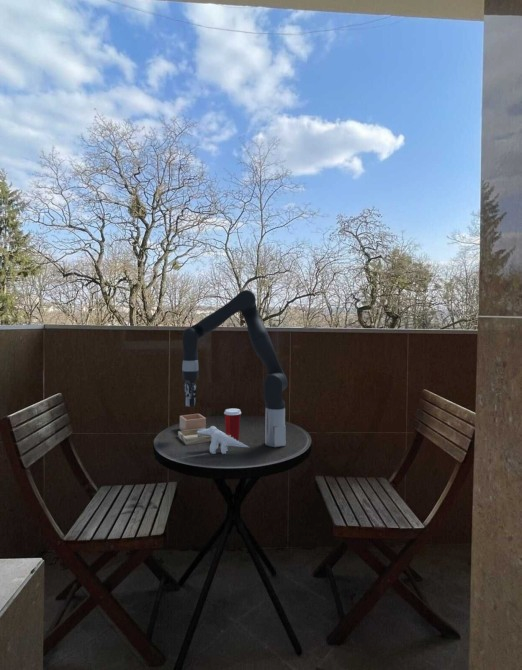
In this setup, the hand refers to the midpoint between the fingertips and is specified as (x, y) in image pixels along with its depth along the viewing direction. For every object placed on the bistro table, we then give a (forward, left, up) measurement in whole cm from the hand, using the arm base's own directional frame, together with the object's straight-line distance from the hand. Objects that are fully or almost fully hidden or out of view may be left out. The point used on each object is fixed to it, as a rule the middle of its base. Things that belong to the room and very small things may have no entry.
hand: (190, 405), depth 172 cm
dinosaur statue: (-22, -8, -17) cm, 29 cm away
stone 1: (0, 0, 0) cm, 0 cm away
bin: (+14, -6, -17) cm, 23 cm away
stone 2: (-1, -6, -16) cm, 17 cm away
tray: (-1, -3, -17) cm, 18 cm away
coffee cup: (-10, -18, -17) cm, 27 cm away
